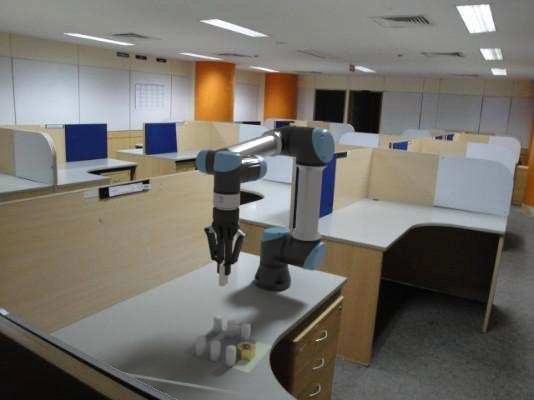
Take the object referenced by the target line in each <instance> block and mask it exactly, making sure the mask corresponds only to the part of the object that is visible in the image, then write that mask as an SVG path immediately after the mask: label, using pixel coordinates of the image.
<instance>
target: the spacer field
mask: <svg viewBox="0 0 534 400" xmlns="http://www.w3.org/2000/svg"><path fill="white" fill-rule="evenodd" d="M226 323H227V327H226V330H223V316H222V315H214V316H213V325H212V326H213V327H212V328H211V329H210V330H209V331H207V332H206V333H205V334H204V335H197V336H196V338H195V342H194V343H193V344H191V346H190V347H188V348H187V349H185V351H184V352H185V353H187V354H190V355H193V356H196V357H199V358H202V359H205V360H208V361H210V362H214V363H217V364H219V365H222V366H225V367H228V368H231V369H234V370H237V371H240V372H243V373H245V374H250V373H251V371H252V370H253V369H254V368H255V367H256V366H257V364H258V363H259V362H260V361H261V359H262V358H264V356H265V355H266V354H267V352H268V351H269V350H270V349H271V348H272V347H273V346H272V345H271V344H268V343H266V342H265V343H264V342H261V341H257V340H255V339H251V330H252V329H251V328H252V327H251V326H252V325H251V324H249V323H242V324H241V330H240V331H241V332H240V335H238V334H237V327H236V326H237V320H236V319H228V320H227V322H226ZM226 331H227V332H226ZM241 342H251V343H252V344H253V345H254V346H256V351H255V357H254V358H253V359H252V360H251V361H241V360H240V359H239V358H238V357H237V356H236V348H237V346H238V345H239V344H240V343H241Z"/></svg>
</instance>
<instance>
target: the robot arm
mask: <svg viewBox="0 0 534 400" xmlns="http://www.w3.org/2000/svg"><path fill="white" fill-rule="evenodd" d="M335 145H336V144H335V139H334V136H333V135H332V132H331V131H330V130H328V129H326V128H320V127H315V126H314V127H311V126H299V125H285V126H281V127H276V128H272V129H269V130H267V131H264V132H263V133H262V134H261V135H260V136H257V137H254V138H250V139H247V140H244V141H242V142H238V143H235V144H231V145H228V146H225V147H222V148H219V149H215V150H213V149H202V150H200V151H199V152H198V153H197V154H196V155H197V156H196V158H195V167H196V169H197V170H198V171H199V172H200V173H201V174H202V173H203V174H206V175H207V176H209V175H210V176H213V193H212V197H213V198H212V205H213V207H212V222H211V224H210V225H209V226H206V227H204V229H203V230H204V233H205V234H206V238H207V243H208V249H209V254H210V259H211V260H212V261H214V262H216V273H217V274H219V277H218V286H220V287H225V286H226V285H227V284H229V275H231V273H232V266H234V265H235V264H236V263H238V261H239V257H240V253H241V250H242V247H243V242H244V241H245V239H246V238H247V236H248V234H247V233H246V232H243V231H242V230H241V228H240V224H239V220H240V208H239V207H240V206H241V184H245V183H250V182H256V181H258V180H261V179H263V178H264V177H265V176H266V174H267V172H268V164H267V161H266V159H265V158H266V157H271V158H273V157H277V156H284V157H290V158H295V166H297V167H298V169H299V170H298V171H299V172H298V183H297V184H298V187H297V197H296V198H297V199H296V200H297V201H296V214H295V215H296V217H295V229H294V230H293V231H292V230H291V229H290V228H289V227H283V226H282V227H281V226H280V227H279V226H277V227H275V226H274V227H269V228H267V229H264V230H263V231H262V233H261V238H260V248H259V250H260V251H259V252H260V253H259V264H258V268H257V269H256V272H255V275H254V280H253V281H254V285H256V286H257V288H259V289H260V288H261V289H263V290H266V291H267V290H268V291H282V290H287V289H289V288H290V287H291V285H292V276H291V274H290V273H291V272H290V269H289V265H290V266H294V267H295V268H300V269H303V270H307V271H311V272H312V271H316V270H318V269H319V268H320V267H321V265H322V264H323V262H324V260H325V257H326V253H327V244H326V243H325V242H324V241H322V234H321V233H320V232H319V223H320V222H319V221H320V208H321V207H320V206H321V199H322V198H321V197H322V182H323V172H324V171H323V170H325V168H327V167H328V163H330V162H331V161H332V160H333V158H334V155H335V151H336V150H335V149H336V146H335ZM291 231H292V232H291ZM235 237H236V240H235V239H234V238H235ZM234 240H235V243H233V242H234ZM233 244H234V245H233ZM233 246H234V247H233Z"/></svg>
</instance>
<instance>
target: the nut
mask: <svg viewBox="0 0 534 400" xmlns="http://www.w3.org/2000/svg"><path fill="white" fill-rule="evenodd" d="M255 351H256V346H254V345H253V344H252V343H251V342H241V343H240V344H239V345H238V346H237V348H236V356H237V357H238V358H239V359H240V360H241V361H251V360H252V359H253V358H254V357H255Z"/></svg>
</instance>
